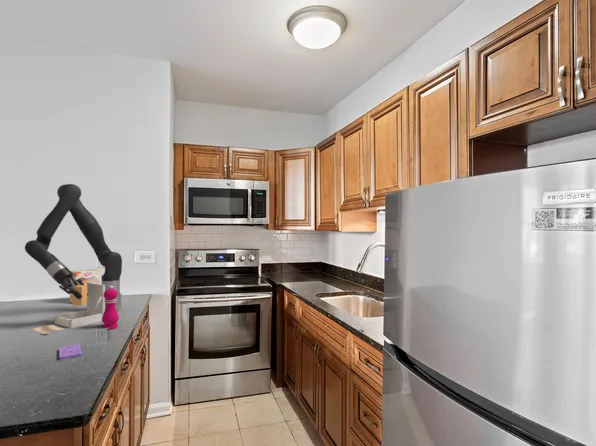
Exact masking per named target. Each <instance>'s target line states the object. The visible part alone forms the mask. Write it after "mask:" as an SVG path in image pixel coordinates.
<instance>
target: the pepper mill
mask: <svg viewBox="0 0 596 446" xmlns="http://www.w3.org/2000/svg"><path fill="white" fill-rule="evenodd" d="M112 288H113V286H109V289H107V290H106V291H105V292H104V298H105V303H106V307H105V311H104V313H103V316H102V321H101V322H102V323H103V324H102V328H104V329H106V330H110V331H111V330H115V329H116V330H117V328H118V326H119V325H118V324H119V323H118V321H119V318H120V317H119V313H118V311H117V310H116V307H115V303H116V300H117V299H116V297H117V296H118V292H117V291H116V290H115V289H112Z"/></svg>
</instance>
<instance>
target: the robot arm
mask: <svg viewBox="0 0 596 446" xmlns="http://www.w3.org/2000/svg"><path fill="white" fill-rule="evenodd" d="M56 193H57V196H58V201H57V203H56V204H55V205H54V207H53V209H52V210H51V211H49V213H48V214H47V216H46V217H45V218H43V220H42V222H41V224H40V225H39V227H38V229H37V231H36V236H37V237H36V239H35V240H34V239H33V240H29V241H27V242H26V243H25V245H24V250H25V252H26V254H28V255H29V256H30V257H31V258H32V259H34V260H35V262H37V263H38V264H40V266H41V267H42V268H43V269H44V270H45V271H46V272H47V274H48V275H49V276H50V277H51V278H52V279H53V280H54V281H55V282H56V283H57V284H58V285H59V286H58V288H59V289H61V290H62V291H64V292H66V293H67V294H68V295H70V294H73V295H74V296H75V297H76V298H77V299H81V298H82V295H81V294H80V293H79V292H78V291H77V290H76V289H75V288H74V287H75V286H77V285H84V284H83V282H82V281H81V279H78V280H76V279H75V278H73V277H72V275H73V273H72V272H71V271H72V270H70V269H69V268H68V267H67V266H66V265H65V264H64V263H63V262H62V261H60V259H58V258H57V257H56V256H55V255H54V254H53V253H52V252H50V251H49V248H50V245H51V242H52V238H53V236H54V235H55V233H56V231H57V230H58V228H59V226H60V225H61V223H62V222H63V220H64V219H65V217H66V216H67V214H68V212H70V215H71V216H72V218H73V221H74V222H75V223H76V225H77V226H78V227H77V228H79V231H80V232H81V234H82V235H83V236H84V238H85V239H86V241H87V242H88V244H89V245H90V247H91V248H92V250H93V251H94V253H95V255H96V258H97V260H98V262H99V264H100V265H101V266H102V267H103V268H104V273H103V274H102V275H101V284H102V285H105V291H106V290H107V289H109V286H113V288H112V289H115V290H116V291H117V292H118V296H117V297H116V299H117V300H116V303H115V307H116V310H117V312H119V311H120V310H122V292H120V291H121V290H120V289H121V287H120V286H121V275H122V272H123V271H122V269H123V258H122V255H121V254H120V253H119V252H117V251H112V250H111V248H110V247H109V246H108V244H107V243H106V241H105V237H104V231H103V229H102V227H101V225H100V223H99V221H98V220H97V219H96V217H95V216H94V215H93V214H92V213H91V211H89V210H88V209H87V208H86V207H85V206H84V204H83V203H82V201H81V199H80V198H81V196H82V190H81V188H80V187H79V186H78V185H77V184H73V183H66V184H61V185H60V186H59V187H58V189H57V191H56ZM88 295H89V294H88V293H87V296H88ZM105 307H106V303H105Z"/></svg>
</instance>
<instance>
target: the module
mask: <svg viewBox="0 0 596 446" xmlns="http://www.w3.org/2000/svg"><path fill="white" fill-rule="evenodd" d="M74 288H75V289H76V290H77V291H78V292H79V293H80V294H81V295H82V298H81V299H77V298H76V297H75V296H74V295H73V303H72V306H80V307H81V306H84V305H87V285H77V286H75V287H74Z"/></svg>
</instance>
